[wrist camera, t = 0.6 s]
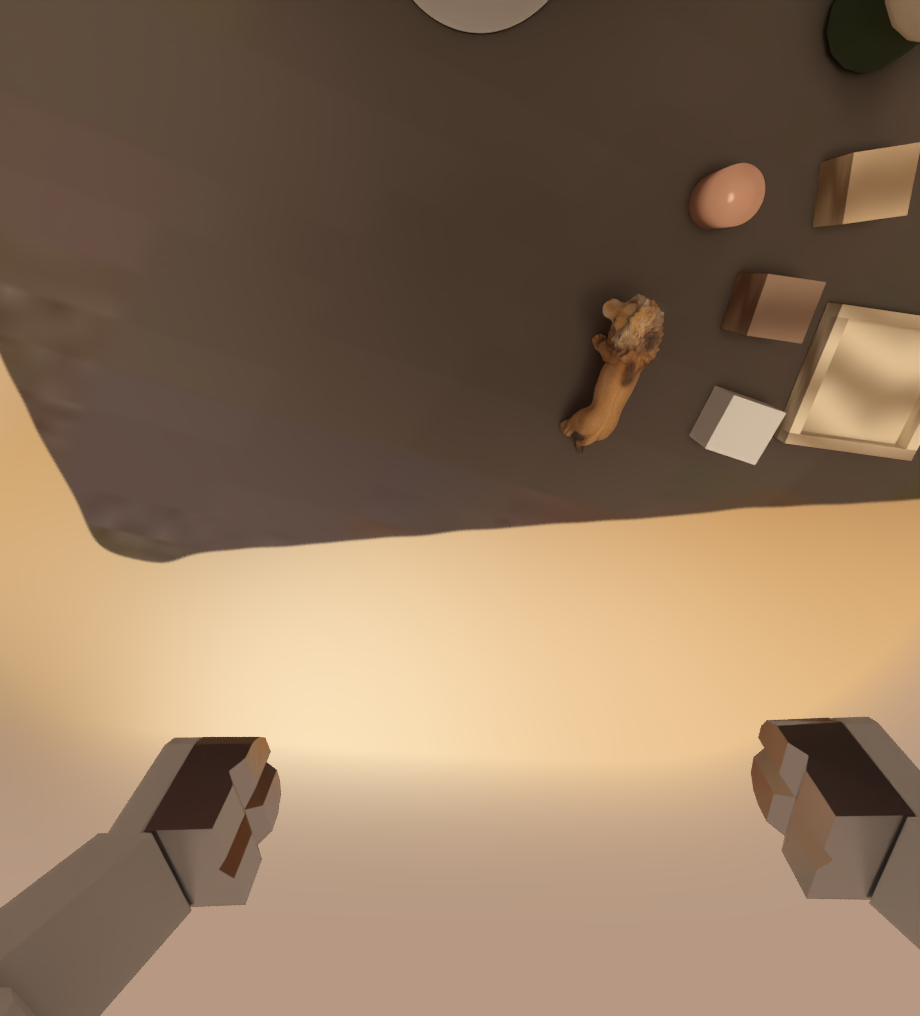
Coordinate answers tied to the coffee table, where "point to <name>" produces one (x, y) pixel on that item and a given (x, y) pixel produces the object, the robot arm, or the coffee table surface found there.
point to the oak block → (866, 185)
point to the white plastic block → (736, 425)
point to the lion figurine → (618, 366)
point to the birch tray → (858, 385)
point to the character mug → (872, 32)
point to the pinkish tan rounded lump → (727, 197)
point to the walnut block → (772, 306)
